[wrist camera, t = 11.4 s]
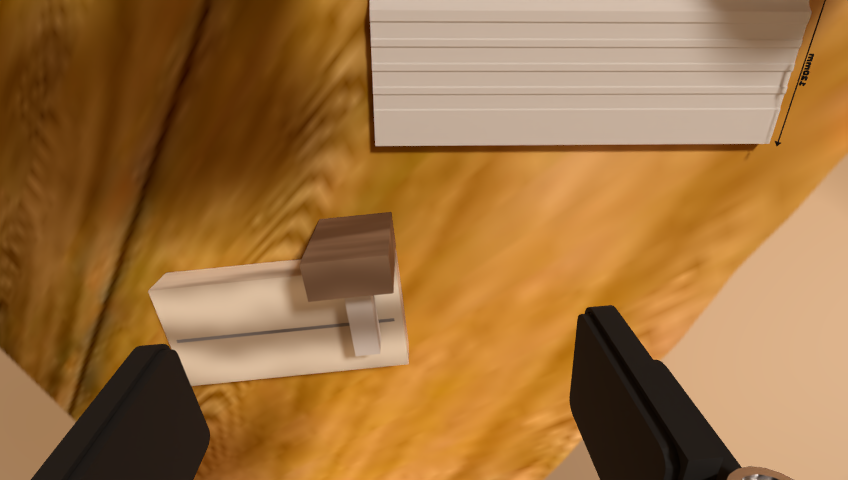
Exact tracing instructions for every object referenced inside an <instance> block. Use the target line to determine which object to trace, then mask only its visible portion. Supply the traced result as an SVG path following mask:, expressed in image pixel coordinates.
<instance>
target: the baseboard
mask: <svg viewBox="0 0 848 480" xmlns="http://www.w3.org/2000/svg"><path fill="white" fill-rule="evenodd" d="M825 1H826V0H825ZM825 1H824V4H825ZM824 4H823V7H824ZM823 7H822V10H823ZM822 10H821V13H822ZM811 13H812V11H811V9H810V6H809V0H370V31H371V55H372V78H373V102H374V127H375V146H468V145H634V144H769V143H770V140H771V137H772V134H773V131H774V128H775V124H776V121H777V118H778V115H779V112H780V106H781V103H782V100H783V97H784V94H785V93H786V90H787V84H788V81H789V78H790V75H791V72H792V71H793V69H794V66H795V60H796V57H797V53H798V50H799V48H800V47H801V44H802V41H803V40H802V38H803V35H804V32H805V29H806V26H807V24H808V23H809V20H810V16H811ZM821 13H820V16H821ZM820 16H819V19H820ZM819 19H818V22H819ZM818 22H817V25H818ZM817 25H816V28H817ZM816 28H815V31H816ZM815 31H814V34H815ZM814 34H813V37H814ZM813 37H812V40H813ZM812 40H811V43H812ZM811 43H810V46H811ZM810 46H809V49H810ZM809 49H808V52H809ZM808 52H807V55H808ZM807 55H806V58H807ZM809 55H811V57H808V58H810V60H807V61H812V59H813V56H814V54H809ZM806 58H805V61H806ZM805 61H804V64H805ZM804 64H803V67H804ZM806 64H809V65H806V66H805V67H808V68H805V69H806V70H805V71H804V72H803V75H808V74H809V71H808V70H809V68H810V65H811V62H807V63H806ZM803 67H802V70H803ZM802 70H801V73H802ZM805 72H807V74H805ZM801 73H800V76H801ZM800 76H799V79H800ZM807 78H808V77H807V76H802V78H801V80H803V79H805V81H806V80H807ZM799 79H798V82H799ZM798 82H797V85H798ZM801 84H803V85H802V86H804V85H805V84H806V83H802V81H800V84H799V85H801ZM797 85H796V88H797ZM796 88H795V91H796ZM795 91H794V94H795ZM794 94H793V97H794ZM793 97H792V100H793ZM792 100H791V103H792ZM791 103H790V106H791ZM790 106H789V109H790ZM789 109H788V112H789ZM788 112H787V115H788ZM787 115H786V118H785V121H784V124H783V127H782V130H781V133H780V136H779V139H778V142H777V141H775V143H776V146H778V145H779V144H781V143H780V142H779V140H780V137H781V134H782V131H783V128H784V125H785V122H786V119H787Z"/></svg>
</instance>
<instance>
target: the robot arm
mask: <svg viewBox="0 0 848 480" xmlns="http://www.w3.org/2000/svg"><path fill="white" fill-rule="evenodd" d="M570 407H571V411H572V414H573V417H574V419H575V421H576V424H577V426H578V429H579V431H580V433H581V436H582V438H583V440H584V442H585V445H586V447H587V450H588V452H589V454H590V457H591V459H592V461H593V464H594V466H595V468H596V471H597V473H598V476H599V478H600V480H793V479H791V478H790V477H788V476H785V475H784V474H782V473H779V472H776V471H773V470H770V469H767V468H762V467H751V466H749V467H743V468H742V467H741V466H740V465H739V463H738V462H737V461H736V459H735V458H734V457H733V455H732V454H731V452H730V451H729V450H728V449H727V447H726V446H725V444H724V443H723V442H722V440H721V439H720V438H719V437H718V435H717V434H716V432H715V431H714V430H713V428H712V427H711V426H710V424H709V423H708V422H707V420H706V419H705V418H704V416H703V415H702V414H701V412H700V411H699V410H698V408H697V407H696V406H695V404H694V403H693V402H692V400H691V399H690V398H689V396H688V395H687V394H686V392H685V391H684V389H683V388H682V387H681V385H680V384H679V383H678V381H677V380H676V379H675V377H674V376H673V375H672V373H671V372H670V371H669V369H668V368H667V367H666V366H665V365H664V364H663V363H662V362H661V361H659V360H653V359H652V357H651V356H650V355H649V353H648V352H647V351H646V349H645V348H644V346H643V345H642V344H641V342H640V341H639V339H638V338H637V337H636V335H635V334H634V333H633V331H632V330H631V328H630V327H629V326H628V324H627V323H626V321H625V320H624V319H623V317H622V316H621V315H620V313H619V312H618V310H617V309H616V308H615V307H614V306H612V305H609V306H598V307H588V308H587V309H586V311H585V314H580V315H579V316H578V320H577V330H576V340H575V350H574V360H573V369H572V379H571V389H570ZM209 440H210V432H209V428H208V426H207V423H206V421H205V419H204V416H203V414H202V411H201V409H200V406H199V404H198V402H197V399H196V397H195V394H194V392H193V389H192V387H191V385H190V382H189V380H188V377H187V375H186V372H185V370H184V368H183V365H182V363H181V360H180V358H179V355H178V353H177V352H176V351H175V350H171V349H170V348H169V346H167V345H166V344H157V345H145V346H138V347H136V348H135V349H134V350H133V351H132V352H131V353H130V355H129V356H128V357H127V358H126V360H125V361H124V362H123V364H122V365H121V366H120V367H119V369H118V370H117V371H116V372H115V374H114V375H113V376H112V377H111V379H110V380H109V381H108V383H107V384H106V385H105V386H104V388H103V389H102V390H101V391H100V393H99V394H98V395H97V396H96V398H95V399H94V400H93V402H92V403H91V404H90V405H89V407H88V408H87V409H86V410H85V412H84V413H83V414H82V415H81V417H80V418H79V419H78V421H77V422H76V423H75V424H74V426H73V427H72V428H71V429H70V431H69V432H68V433H67V434H66V436H65V437H64V438H63V440H62V441H61V442H60V443H59V445H58V446H57V447H56V449H55V450H54V451H53V452H52V453H51V455H50V456H49V457H48V459H47V460H46V461H45V462H44V464H43V465H42V466H41V468H40V469H39V470H38V471H37V473H36V474H35V475H34V477H33V478H32V479H31V480H193V479H194V477H195V475H196V472H197V470H198V468H199V466H200V463H201V461H202V459H203V457H204V454H205V452H206V450H207V448H208V445H209Z"/></svg>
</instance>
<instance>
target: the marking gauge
mask: <svg viewBox="0 0 848 480" xmlns="http://www.w3.org/2000/svg"><path fill="white" fill-rule="evenodd" d="M395 248H396V243H395V236H394V228H393V221H392V213H391V212H387V213H377V214H367V215H358V216H348V217H338V218H328V219H320V220H319V222H318V224H317V226H316V228H315V231H314V233H313V235H312V237H311V239H310V242H309V244H308V246H307V248H306V250H305V253H304V255H303V257H302V259H301V262H300V264H299V265H300V269H301V274H302V278H303V282H304V286H305V290H306V295H307V299H308V302H313V301H323V300H333V299H342V298H344V299H345V304H346V309H347V315H348V320H349V325H350V330H351V335H352V340H353V345H354V350H355V355H356V356H364V355H374V354H380V350H381V333H380V327H379V321H378V315H377V309H376V303H375V297H374V295H382V294H392V293H394V272H395Z"/></svg>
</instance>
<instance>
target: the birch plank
mask: <svg viewBox="0 0 848 480" xmlns="http://www.w3.org/2000/svg"><path fill="white" fill-rule="evenodd" d="M300 262H301V259H299V260H289V261H279V262H269V263H259V264H249V265H239V266H229V267H220V268H210V269H200V270H190V271H180V272H170V273H165V274H164V275H163V276H162V277H161V278H160V279H159V280H158V281H157V282H156V283H155V284H154V285H153V286H152V287H151V289H150V290H149V291H148V292H149V295H150V297H151V300H152V302H153V304H154V307H155V309H156V312H157V314H158V317H159V319H160V322H161V324H162V326H163V329H164V331H165V334H166V336H167V339H168V341H169V344H170V346H171V349H172V350H175V351H176V352H177V353H178V355H179V358H180V360H181V363H182V365H183V368H184V370H185V372H186V375H187V377H188V380H189V382H190V385H191V386H196V385H206V384H216V383H226V382H236V381H246V380H256V379H266V378H276V377H285V376H295V375H305V374H315V373H325V372H335V371H345V370H355V369H365V368H375V367H385V366H395V365H405V364H409V343H408V335H407V328H406V320H405V313H404V305H403V298H402V290H401V283H400V275H399V268H398V260H397V253H396V250H395V272H394V293H392V294H382V295H374V297H375V303H376V309H377V315H378V321H379V327H380V333H381V350H380V354H374V355H364V356H356V355H355V350H354V345H353V340H352V335H351V330H350V325H349V320H348V315H347V309H346V304H345V299H344V298H342V299H333V300H323V301H313V302H308V299H307V295H306V290H305V286H304V282H303V278H302V274H301V269H300V265H299V264H300Z"/></svg>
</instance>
